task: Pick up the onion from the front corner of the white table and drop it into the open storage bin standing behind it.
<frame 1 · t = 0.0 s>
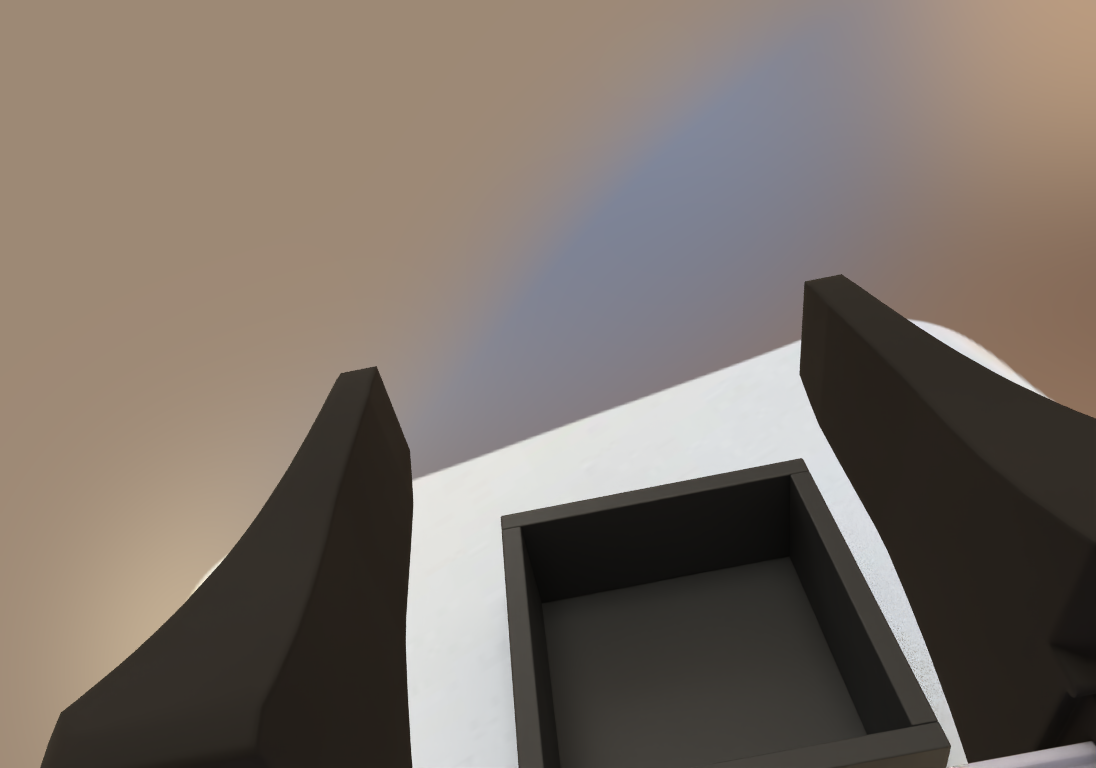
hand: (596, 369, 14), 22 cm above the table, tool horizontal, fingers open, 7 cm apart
open storage bin: (696, 699, 33), on the table
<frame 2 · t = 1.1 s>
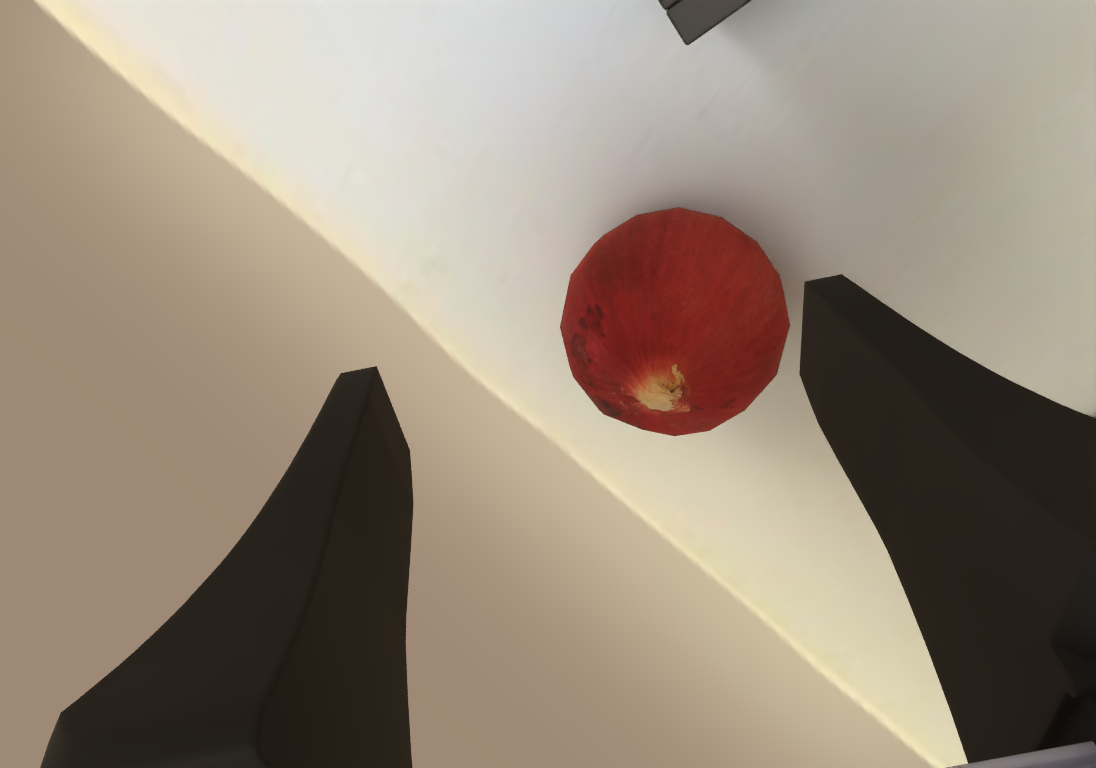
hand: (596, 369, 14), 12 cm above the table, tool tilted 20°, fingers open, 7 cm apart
onion: (684, 267, 25), on the table
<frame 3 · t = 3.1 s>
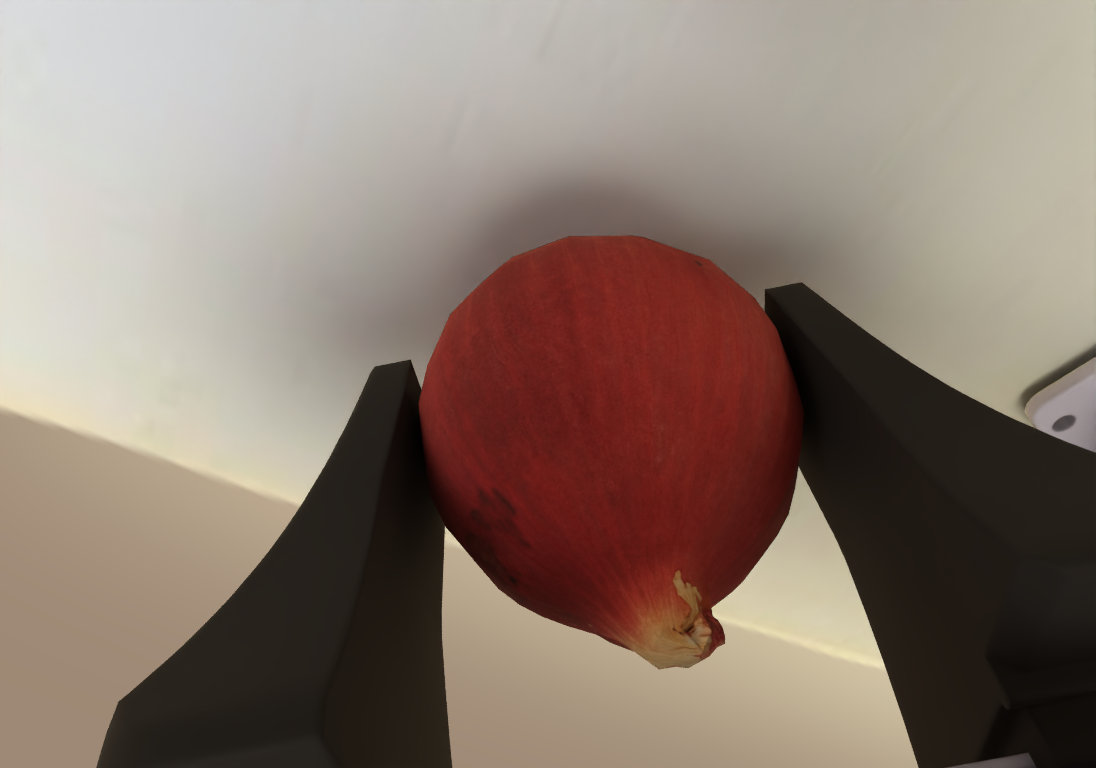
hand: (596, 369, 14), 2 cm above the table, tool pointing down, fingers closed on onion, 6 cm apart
onion: (572, 282, 16), on the table, touching gripper
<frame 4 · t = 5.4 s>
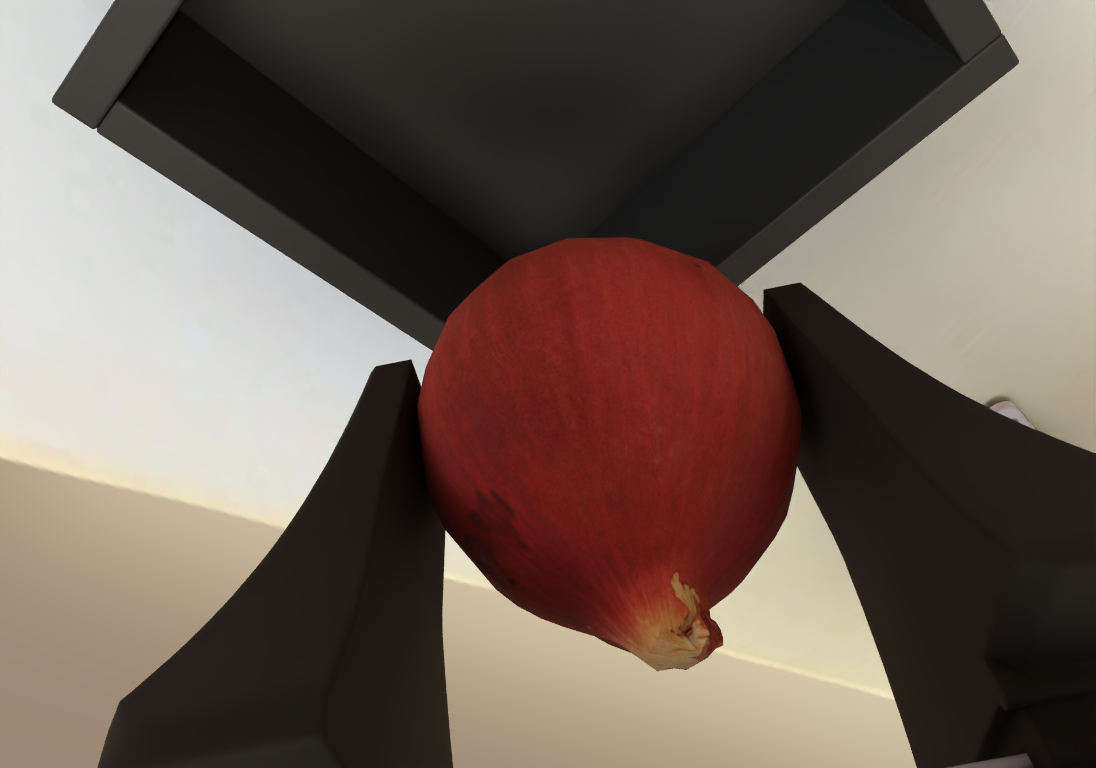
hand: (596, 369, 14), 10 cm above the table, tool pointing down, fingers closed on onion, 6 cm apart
onion: (571, 284, 16), point 7 cm above the table, touching gripper
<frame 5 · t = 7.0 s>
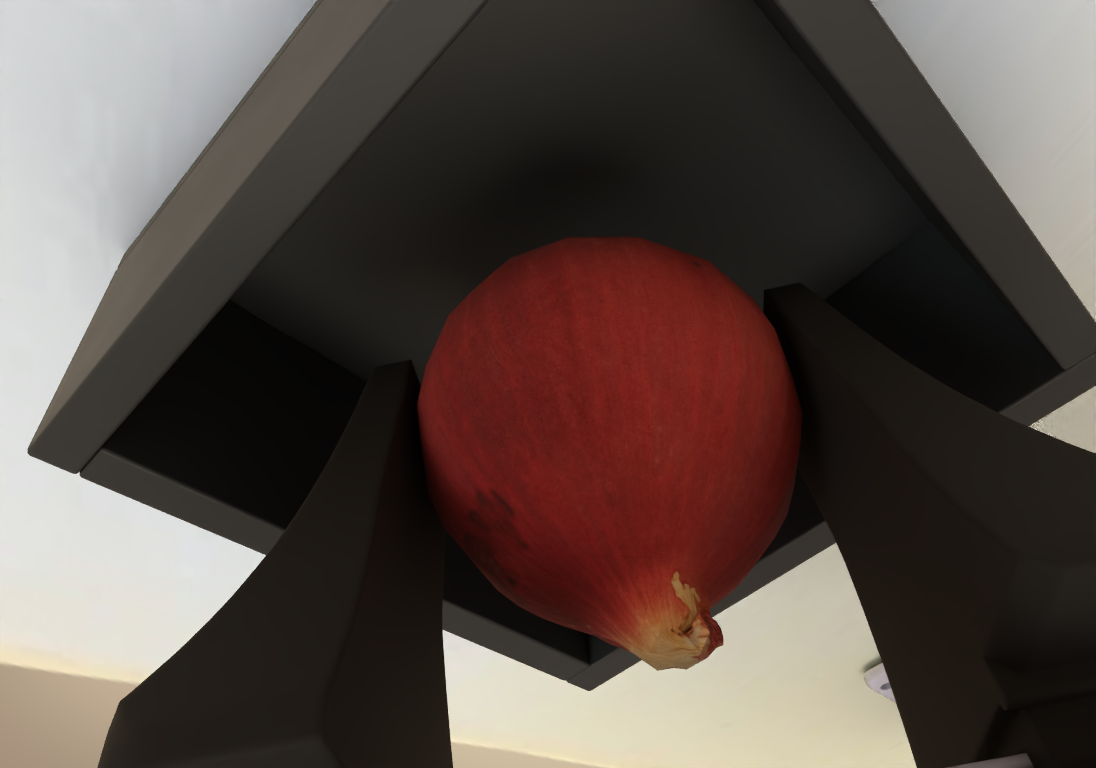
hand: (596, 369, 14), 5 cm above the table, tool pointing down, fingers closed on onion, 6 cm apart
onion: (571, 283, 16), point 2 cm above the table, touching gripper
open storage bin: (562, 228, 18), on the table
when the fingers open (3 cm above the table, at t = 8.1 s): onion stays where it is, resting on open storage bin.
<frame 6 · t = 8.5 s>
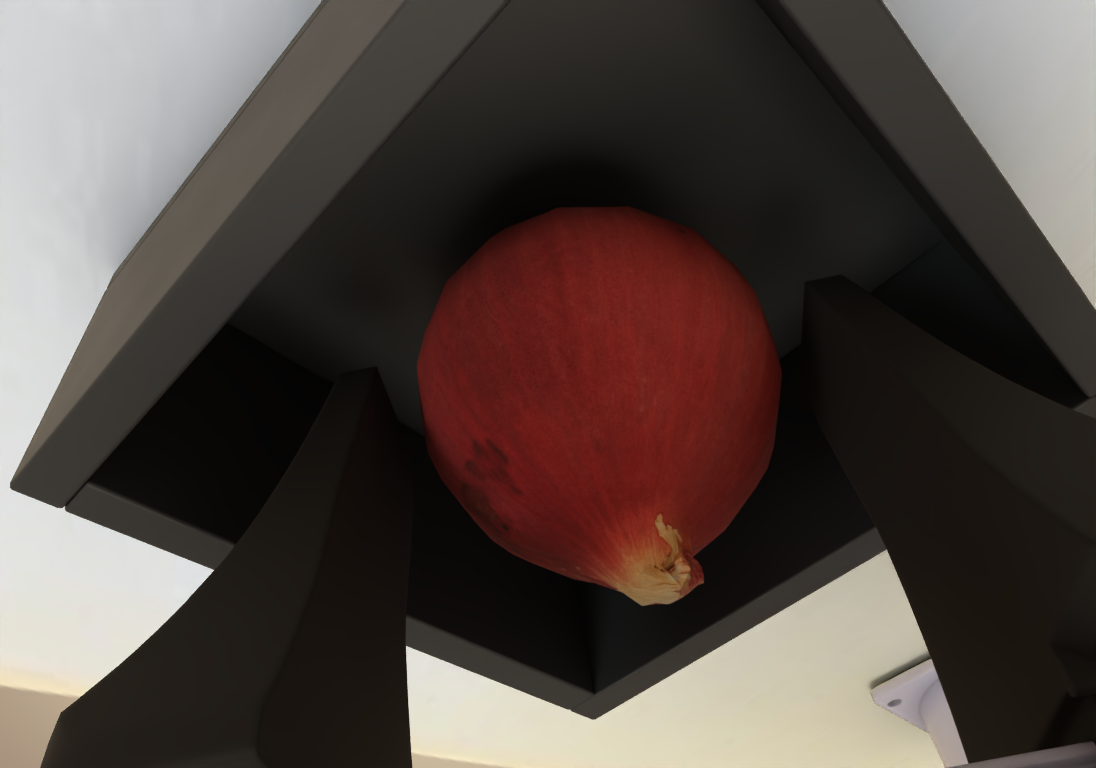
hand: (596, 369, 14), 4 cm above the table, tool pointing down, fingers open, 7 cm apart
onion: (565, 257, 17), resting on open storage bin
open storage bin: (566, 245, 17), on the table
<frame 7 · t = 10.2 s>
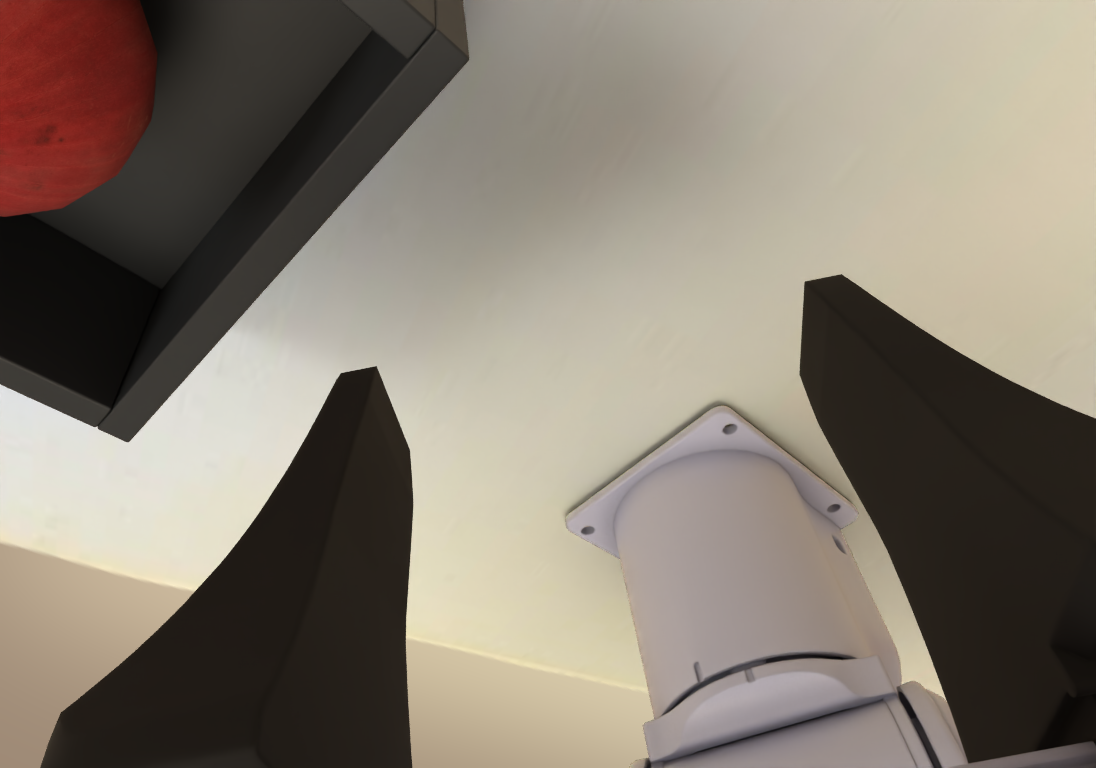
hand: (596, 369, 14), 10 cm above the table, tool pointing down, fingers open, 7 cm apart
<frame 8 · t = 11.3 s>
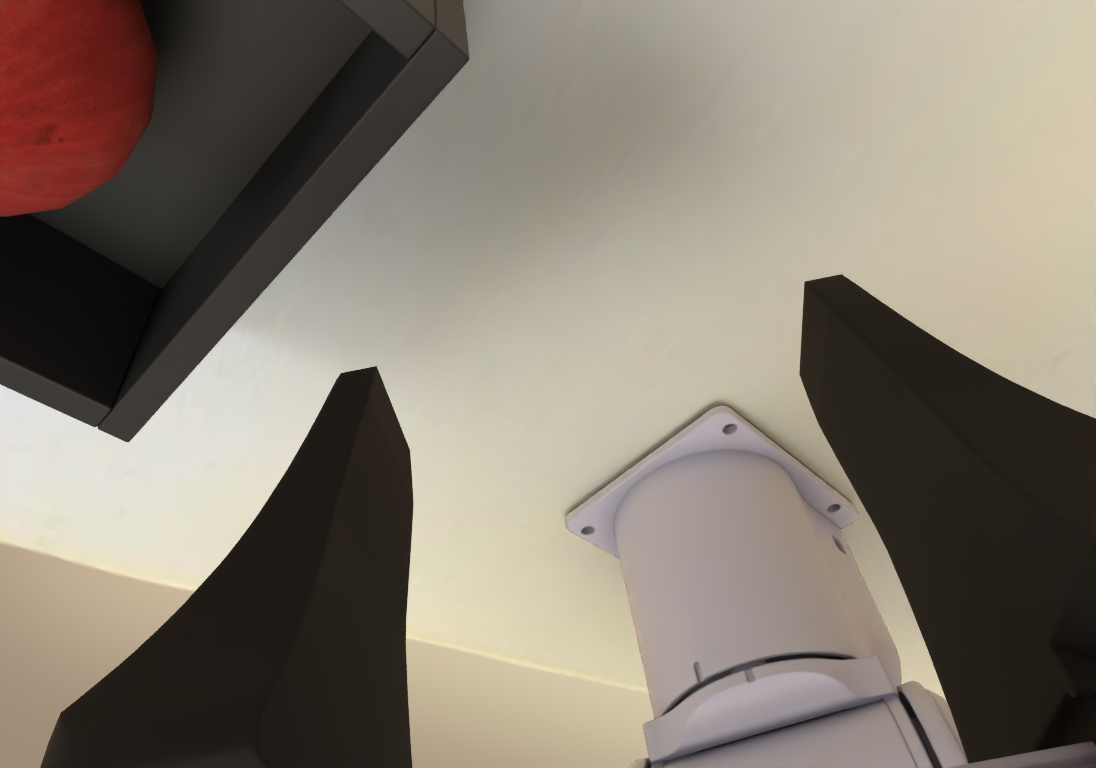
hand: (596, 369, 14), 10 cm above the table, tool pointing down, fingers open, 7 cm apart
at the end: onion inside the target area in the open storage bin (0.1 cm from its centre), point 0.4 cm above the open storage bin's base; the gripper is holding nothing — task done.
